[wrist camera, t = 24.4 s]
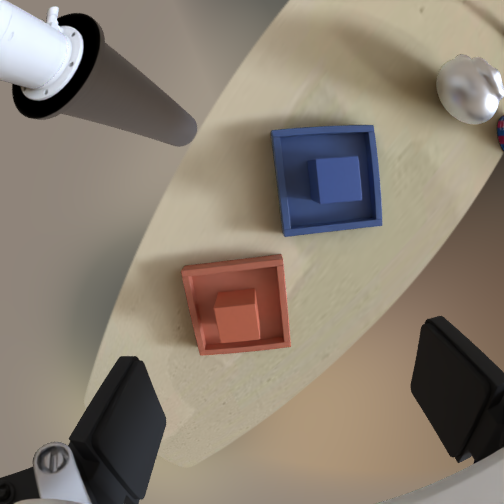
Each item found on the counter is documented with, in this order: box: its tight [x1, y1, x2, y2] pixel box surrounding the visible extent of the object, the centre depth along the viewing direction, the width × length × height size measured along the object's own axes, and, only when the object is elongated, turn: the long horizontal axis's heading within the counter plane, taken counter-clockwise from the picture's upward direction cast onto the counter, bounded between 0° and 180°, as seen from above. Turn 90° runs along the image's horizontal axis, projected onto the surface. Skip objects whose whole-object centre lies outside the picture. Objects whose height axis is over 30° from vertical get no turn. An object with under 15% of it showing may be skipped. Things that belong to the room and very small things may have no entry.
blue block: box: [307, 156, 362, 204], centre depth 30 cm, size 4×4×4 cm
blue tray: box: [271, 125, 382, 237], centre depth 32 cm, size 12×12×2 cm
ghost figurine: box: [437, 54, 504, 124], centre depth 24 cm, size 9×10×10 cm
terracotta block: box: [214, 288, 260, 343], centre depth 34 cm, size 4×4×4 cm
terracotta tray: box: [181, 254, 291, 355], centre depth 36 cm, size 12×12×2 cm
